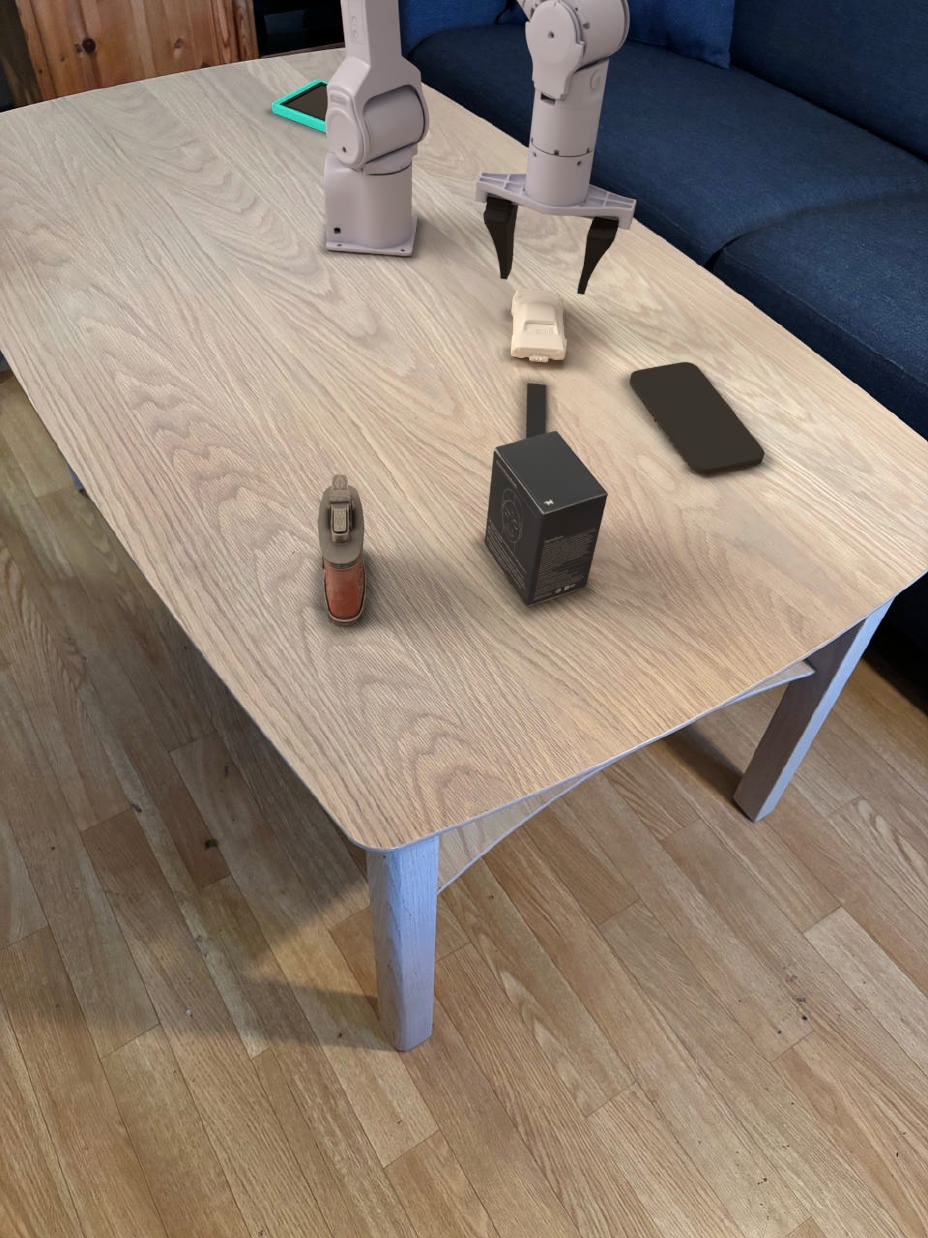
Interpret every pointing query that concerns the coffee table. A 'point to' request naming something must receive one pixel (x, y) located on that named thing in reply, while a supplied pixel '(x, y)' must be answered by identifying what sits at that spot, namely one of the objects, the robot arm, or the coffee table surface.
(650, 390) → the phone
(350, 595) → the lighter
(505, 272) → the robot arm
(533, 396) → the tape line
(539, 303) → the toy car
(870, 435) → the coffee table surface
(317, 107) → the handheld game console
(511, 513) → the box
